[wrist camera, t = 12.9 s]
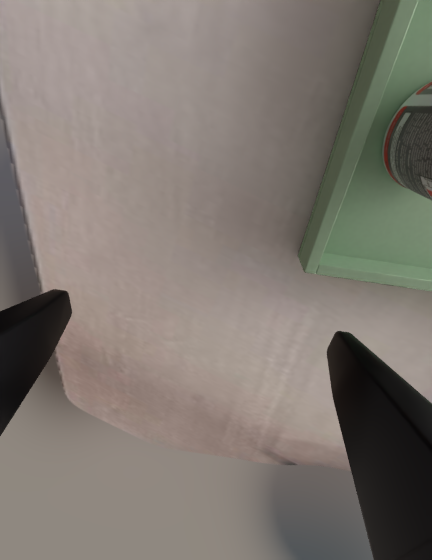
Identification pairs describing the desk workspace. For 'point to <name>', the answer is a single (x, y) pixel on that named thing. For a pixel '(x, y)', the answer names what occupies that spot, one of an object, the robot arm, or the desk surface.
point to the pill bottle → (411, 143)
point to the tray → (376, 165)
